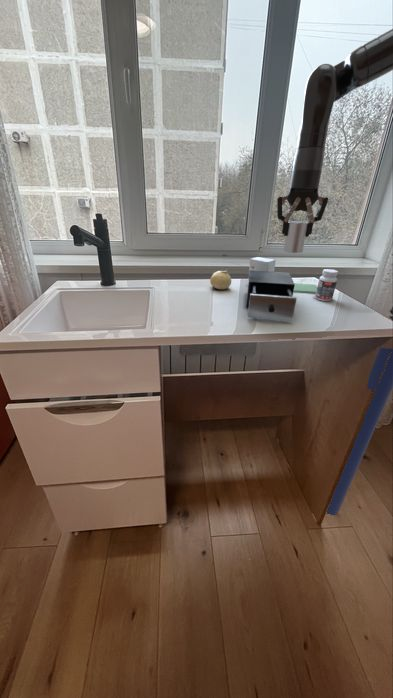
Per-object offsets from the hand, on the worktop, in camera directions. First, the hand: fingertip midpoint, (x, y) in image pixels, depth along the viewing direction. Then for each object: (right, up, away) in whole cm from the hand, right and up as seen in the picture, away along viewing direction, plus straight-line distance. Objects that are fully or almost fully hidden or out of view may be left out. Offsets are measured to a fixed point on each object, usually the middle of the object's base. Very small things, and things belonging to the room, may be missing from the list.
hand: (295, 235), depth 85 cm
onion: (-20, -10, +25) cm, 34 cm away
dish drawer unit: (-6, -18, +12) cm, 22 cm away
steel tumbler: (0, -4, +2) cm, 4 cm away
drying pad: (+12, -10, +26) cm, 31 cm away
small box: (-5, -9, +28) cm, 30 cm away
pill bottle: (+15, -16, +16) cm, 28 cm away
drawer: (-8, -22, +2) cm, 24 cm away
